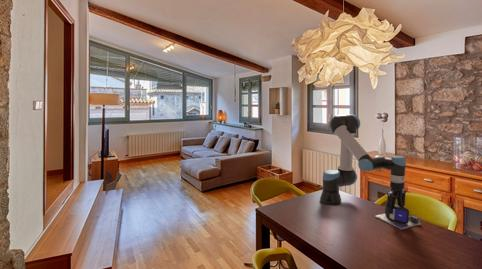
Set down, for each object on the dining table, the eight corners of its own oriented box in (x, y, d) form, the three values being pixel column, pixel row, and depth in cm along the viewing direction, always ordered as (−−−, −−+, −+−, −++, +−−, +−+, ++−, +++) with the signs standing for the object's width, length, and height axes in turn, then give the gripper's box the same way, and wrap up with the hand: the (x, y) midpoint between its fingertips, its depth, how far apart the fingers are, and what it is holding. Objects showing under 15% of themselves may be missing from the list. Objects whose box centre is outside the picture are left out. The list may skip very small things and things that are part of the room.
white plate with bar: (375, 217, 168) (375, 211, 168) (393, 212, 174) (394, 207, 173) (401, 229, 151) (401, 223, 151) (420, 224, 157) (421, 218, 157)
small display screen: (380, 214, 169) (381, 200, 168) (386, 213, 171) (387, 199, 170) (403, 225, 154) (404, 210, 153) (409, 224, 155) (410, 209, 154)
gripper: (392, 185, 152) (390, 223, 155) (413, 181, 159) (411, 217, 161) (381, 181, 159) (379, 217, 162) (402, 178, 166) (400, 213, 168)
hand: (395, 217), depth 162 cm, fingers open, 5 cm apart
